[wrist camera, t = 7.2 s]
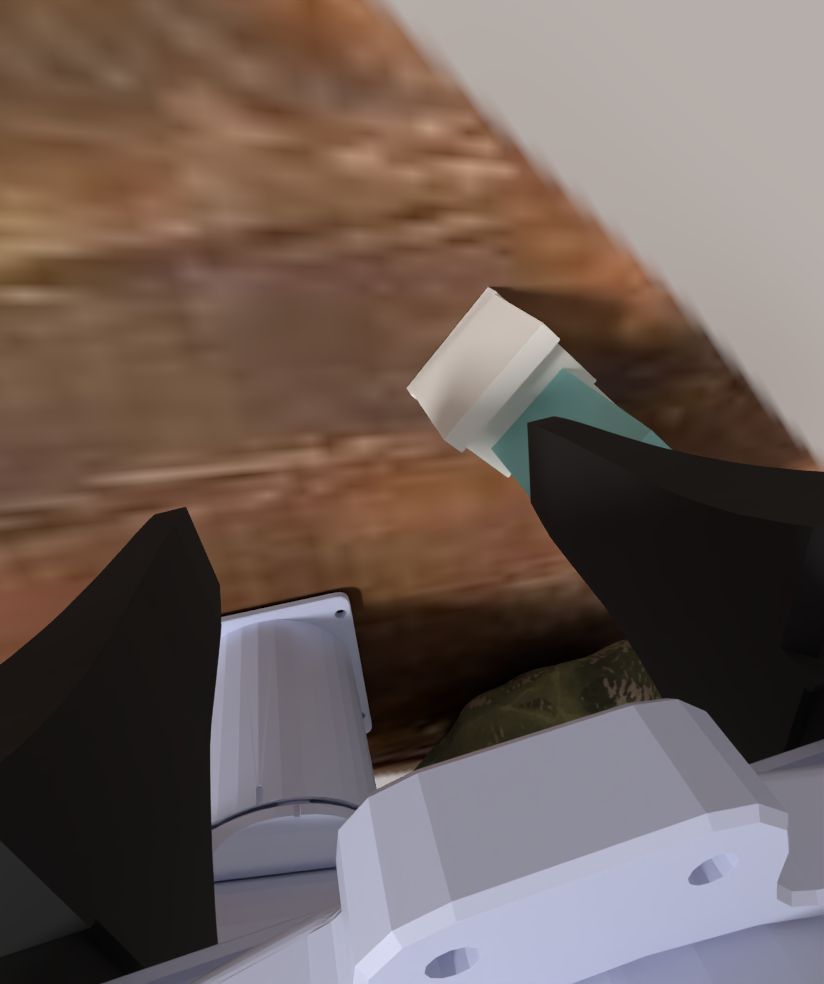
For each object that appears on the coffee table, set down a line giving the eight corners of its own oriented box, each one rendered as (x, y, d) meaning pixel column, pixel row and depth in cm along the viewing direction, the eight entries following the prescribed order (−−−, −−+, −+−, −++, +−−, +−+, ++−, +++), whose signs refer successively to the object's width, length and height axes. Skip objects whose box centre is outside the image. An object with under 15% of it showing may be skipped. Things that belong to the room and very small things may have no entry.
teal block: (701, 496, 23) (800, 572, 19) (637, 557, 24) (718, 643, 20) (562, 367, 19) (651, 430, 15) (491, 448, 20) (555, 528, 16)
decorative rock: (603, 747, 40) (701, 910, 32) (383, 803, 35) (435, 1009, 28) (683, 593, 31) (841, 765, 24) (405, 641, 27) (490, 874, 19)
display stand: (672, 460, 26) (747, 515, 22) (600, 532, 28) (659, 597, 24) (487, 286, 20) (545, 320, 16) (406, 387, 22) (441, 442, 18)
